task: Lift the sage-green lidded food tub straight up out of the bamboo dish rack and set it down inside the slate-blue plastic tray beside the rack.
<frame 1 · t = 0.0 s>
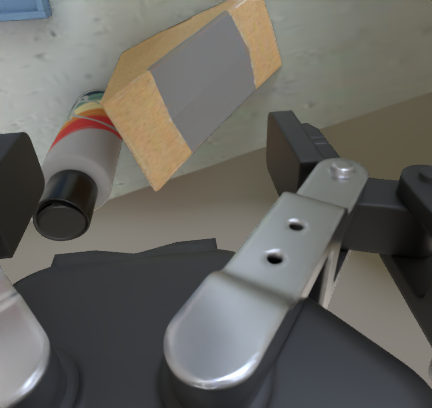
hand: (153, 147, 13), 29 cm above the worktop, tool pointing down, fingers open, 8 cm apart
lotion bottle: (101, 112, 42), on the worktop
sandwich container: (204, 58, 40), on the worktop
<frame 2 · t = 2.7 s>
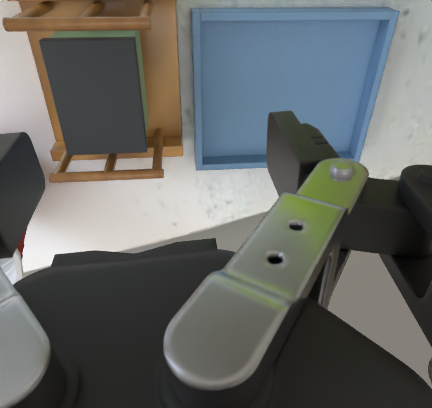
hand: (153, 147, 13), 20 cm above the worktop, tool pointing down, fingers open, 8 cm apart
tray: (281, 91, 33), on the worktop
plastic cup: (2, 170, 35), on the worktop
dish rack: (111, 71, 30), on the worktop
tub: (109, 75, 30), point 1 cm above the worktop, touching dish rack
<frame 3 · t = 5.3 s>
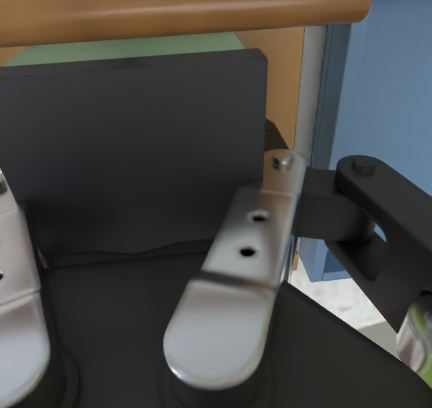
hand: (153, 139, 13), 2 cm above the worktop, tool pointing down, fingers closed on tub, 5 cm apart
dish rack: (155, 117, 15), on the worktop
tub: (155, 127, 14), point 1 cm above the worktop, touching dish rack, gripper
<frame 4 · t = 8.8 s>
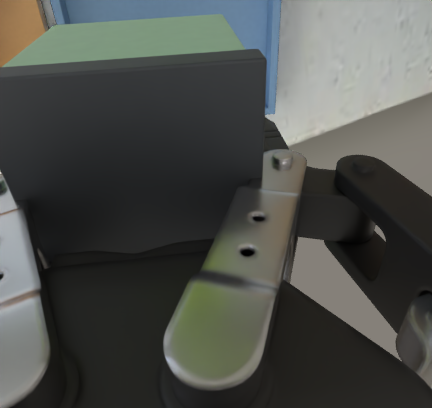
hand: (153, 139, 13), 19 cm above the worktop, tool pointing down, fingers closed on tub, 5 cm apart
tray: (172, 30, 28), on the worktop
tub: (155, 127, 14), point 18 cm above the worktop, touching gripper
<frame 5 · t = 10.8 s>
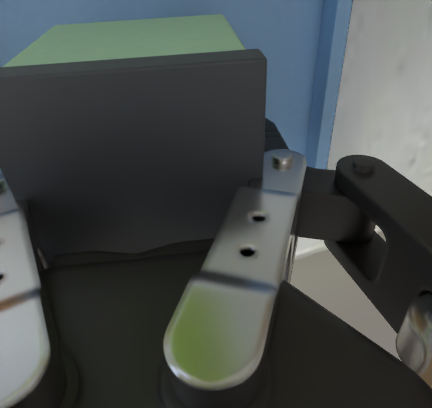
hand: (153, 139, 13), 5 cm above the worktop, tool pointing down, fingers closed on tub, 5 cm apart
tray: (154, 95, 17), on the worktop
tub: (155, 127, 14), point 4 cm above the worktop, touching gripper
when the fingers open (1 cm above the worktop, at t = 12.3 s): tub stays where it is, resting on tray.
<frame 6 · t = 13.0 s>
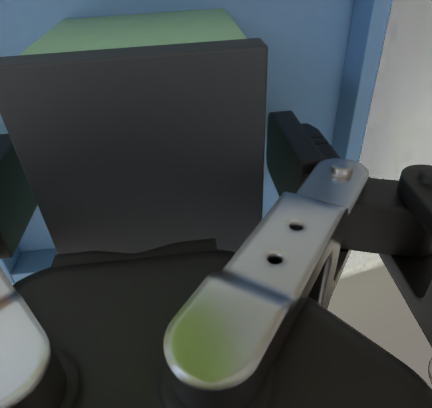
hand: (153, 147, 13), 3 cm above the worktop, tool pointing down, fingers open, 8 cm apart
tray: (157, 115, 15), on the worktop
tub: (159, 119, 14), resting on tray
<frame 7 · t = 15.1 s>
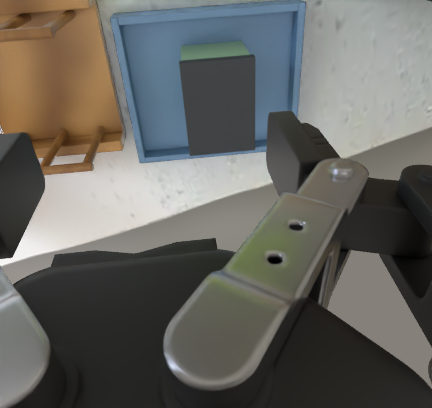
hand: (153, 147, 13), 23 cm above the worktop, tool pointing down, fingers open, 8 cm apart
tray: (212, 84, 35), on the worktop
dish rack: (50, 76, 33), on the worktop
tub: (213, 85, 35), resting on tray
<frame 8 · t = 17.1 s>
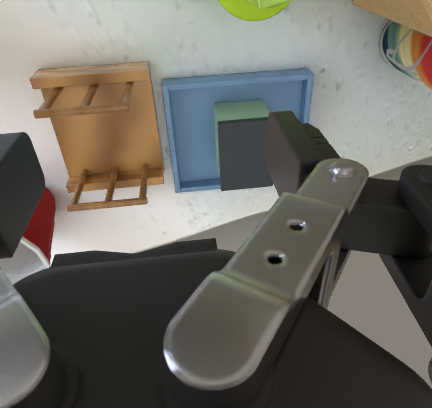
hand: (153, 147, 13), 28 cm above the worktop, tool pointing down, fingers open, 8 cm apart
lotion bottle: (403, 37, 39), on the worktop
tray: (236, 130, 43), on the worktop
plastic cup: (30, 199, 46), on the worktop
dish rack: (107, 125, 41), on the worktop
tub: (238, 132, 43), resting on tray
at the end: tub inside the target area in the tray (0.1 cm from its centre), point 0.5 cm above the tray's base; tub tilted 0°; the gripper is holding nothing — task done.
